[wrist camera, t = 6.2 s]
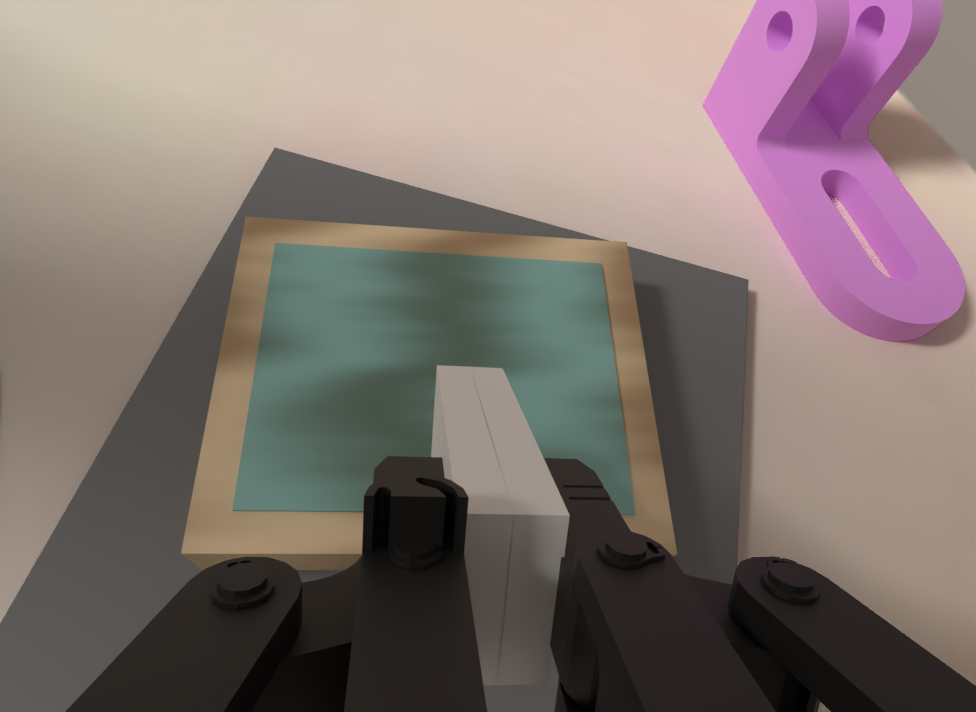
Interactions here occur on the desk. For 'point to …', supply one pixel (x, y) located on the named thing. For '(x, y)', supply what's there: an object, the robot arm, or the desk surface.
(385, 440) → the framed teal picture
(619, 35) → the desk surface
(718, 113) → the bracket
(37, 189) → the desk surface
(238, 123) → the desk surface
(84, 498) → the rubber mat
